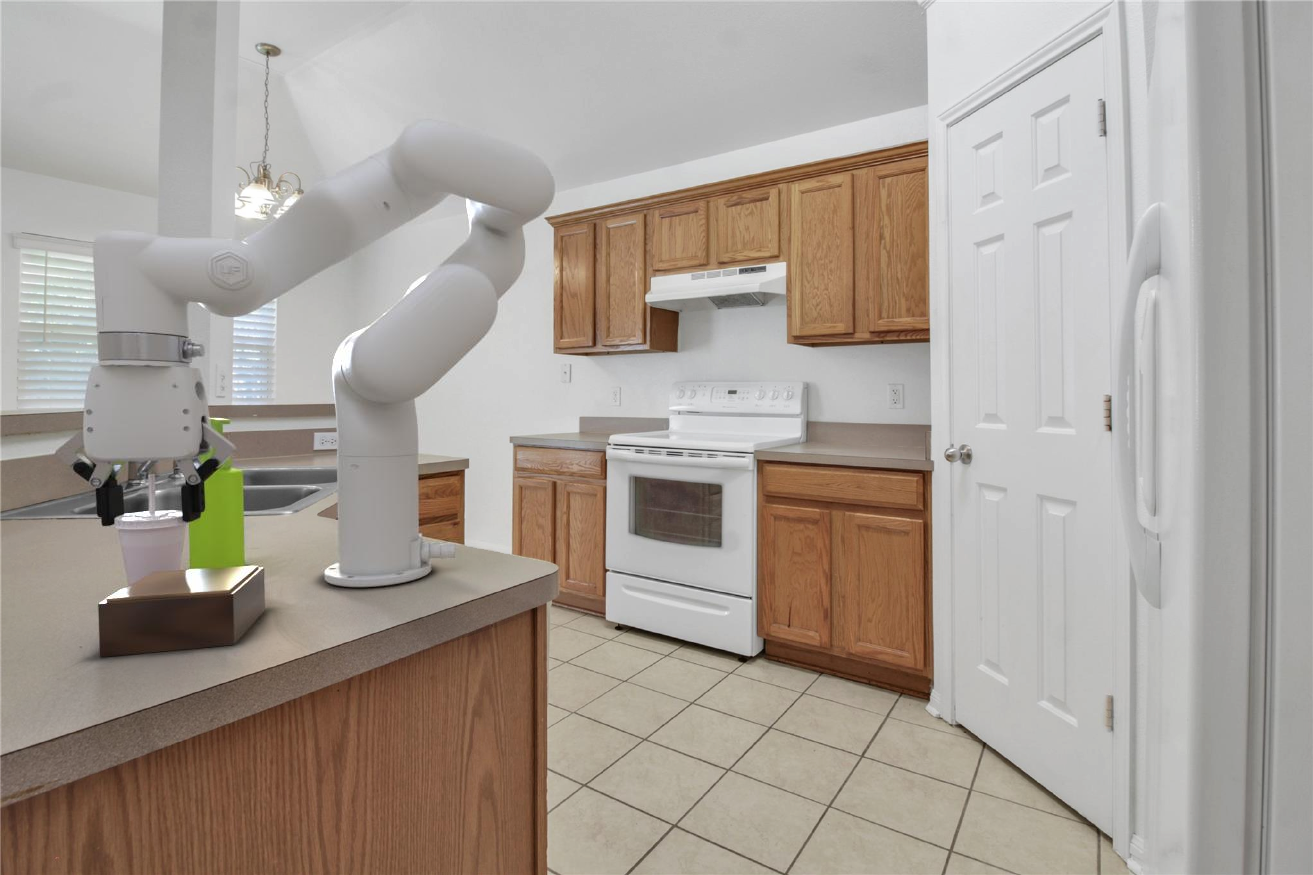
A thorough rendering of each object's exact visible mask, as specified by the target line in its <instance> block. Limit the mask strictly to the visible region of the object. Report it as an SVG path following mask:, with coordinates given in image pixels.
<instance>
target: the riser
mask: <svg viewBox="0 0 1313 875" xmlns="http://www.w3.org/2000/svg"><path fill="white" fill-rule="evenodd" d="M265 588H266V586H265V567H264V566H263V567H262V566H261V567H260V566H259V565H245V566H242V567H225V568H208V569H191V570H190V569H180V570H174V571H157V572H152V573H151V574H149V575H147V576H145V577H144V578H142V579H140V580H138V581H136V582H135V583H133V584H131V585H129V586H128V585H127V586H125V587H124V588H122V589H120V590H118V591H117V592H115V593H113V594H111V595H110V596H108V597H106V598H105V599H103V600H102V601H100V602H99V603H98V604H97V611H98V636H99V637H98V638H99V639H98V640H99V658H105V657H108V658H109V657H119V656H128V655H139V654H140V655H141V654H151V653H161V652H171V651H181V650H192V649H193V650H194V649H203V648H205V649H206V648H214V647H226V646H227V647H228V646H234V645H236V644H237V642H238V641H239V640H240V639H241V638H242V637H243V636H244V634H246V632H247V631H248V630H250V628H251V627H252V626H253V625H254V623H256V621H257V620H258V619H259V618H260V617H261V616H262V615H263V614H264V612H266V597H265V596H266V595H265V594H266V593H265V592H266V591H265V590H266V589H265Z"/></svg>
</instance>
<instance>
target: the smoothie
mask: <svg viewBox="0 0 1313 875" xmlns="http://www.w3.org/2000/svg"><path fill="white" fill-rule="evenodd" d="M147 478H148V479H147V480H148V481H147V482H148V485H147V486H148V510H147V511H138V512H131V513H124V515H120V516H117V517H116V518H115V519H114V523H115V524H114V525H113V528H114V529H116V530H117V531H118V536H119V543H120V547H121V553H122V558H123V564H124V570H125V575H126V581H127V586H129V585H131V584H133V583H135V582H136V581H138V580H140V579H142V578H144V577H145V576H147V575H149V574H151V573H152V572H157V571H174V570H181V565H182V560H183V559H182V558H183V552H184V545H185V538H186V529H187V524H189V522H185V521H183V520H182V510H172V509H171V510H170V509H169V510H168V509H167V510H156V474H155V473H148V475H147Z"/></svg>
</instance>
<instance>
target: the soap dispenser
mask: <svg viewBox="0 0 1313 875" xmlns="http://www.w3.org/2000/svg"><path fill="white" fill-rule="evenodd" d="M210 423H211V428H213V429H214V430H215V431H217V432H218V433H219V434H221V435H222V436H223V437H224V425H231V419H227V418H220V417H210ZM214 453H215V448H214V447H213V446H212V448H211V451H210V452H209V453H207V454H205V455H202V456H198V457H199V459H200V460H201V462H202V464H203V463H204V462H205V461H206V460H208V459H209V458H210V457H211V456H212V455H213V454H214ZM204 488H205V511H204V512H201V517H200V518H198V519H196V520H194V521H192V522H189V523H188V541H189V542H188V543H189V547H188V548H189V550H188V552H189V570H191V569H208V568H225V567H242V566H246V561H245V558H246V556H245V555H246V554H245V510H244V509H245V508H244V507H245V504H244V470H243V469H240V468H233V467H232V456H231V457H230V458H229V459H228V460H227V461H226V462H224V463H223V464H222V466H221V467H220V468H219V469H218V470H217V471H215V472H214V473H213V474H212V475H211V476H210V477H209V478H208V480H207V481H205V482H204Z"/></svg>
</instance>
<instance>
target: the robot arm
mask: <svg viewBox="0 0 1313 875" xmlns="http://www.w3.org/2000/svg"><path fill="white" fill-rule="evenodd" d="M555 193H556V184H555V179H554V176H553V173H552V171H551V170H550V168H549V167H548V165H547V163H545V162H544V160H543V159H542V158H541V157H539V156H538V155H537V154H536V153H534V152H532V151H530V150H528V149H526V148H524V147H522V146H519V145H516V144H513V143H510V142H507V141H504V140H502V139H499V138H496V137H493V136H490V135H487V134H484V133H482V132H479V131H475V130H473V129H470V128H467V127H464V126H461V125H457V124H454V123H452V122H451V123H450V122H446V121H442V120H437V119H429V118H427V119H419V120H414V121H412V122H410V123H409V124H408V125H406V127H404V129H402V131H401V132H400V133H399V136H398V137H397V138H396V139H395V141H394V142H393V143H392V144H390V145H389V146H386V147H384V148H383V149H381V150H379V151H377V152H375V153H373V154H371V155H370V156H367V157H366V158H364V159H361V160H360V161H358V162H356V163H354V164H352V165H350V166H348V167H346V168H344V169H343V170H341V171H338V172H336V173H334V174H332V175H330V176H328V177H327V178H324V179H323V180H320V181H318V182H316V183H315V184H313V185H312V186H310V187H309V188H308V189H307V190H305V191H304V192H303V193H302V194H301V195H300V196H298V198H297V199H296V200H295V201H294V202H293V203H292V204H291V205H290V206H289V207H288V208H287V209H286V210H285V211H284V212H283V213H282V214H280V216H278V217H276V218H275V219H274V220H273V221H271V222H270V223H269V224H267V225H265V226H264V227H262V228H261V229H259V230H257V231H256V232H254V233H252V234H250V235H249V236H247V237H246V238H244V239H241V240H238V239H233V238H228V237H227V238H226V237H173V236H168V237H167V236H163V235H160V234H156V233H151V232H145V231H138V230H128V229H127V230H126V229H111V230H105V231H102V232H100V233H98V234H97V235H95V237H94V240H93V243H92V258H93V259H92V264H93V281H94V283H93V284H94V300H95V317H96V318H95V320H96V333H97V334H96V341H97V358H98V365H91V367H90V370H89V374H88V377H87V378H88V379H87V383H86V389H85V395H84V404H83V417H82V418H83V422H82V423H83V426H82V429H81V430H80V431H78V432H77V433H76V434H74V435H73V436H72V437H71V438H70V439H68V440H67V441H66V442H64V443H63V444H62V445H61V446H60V447H59V448H57V449H56V450H55V453H54V454H55V455H54V456H55V457H57V458H58V459H59V460H60V461H61V462H63V463H64V464H65V465H67V466H68V467H69V468H71V469H72V470H73V472H74V473H75V474H76V475H78V476H80V477H81V478H82V479H84V480H85V481H86V482H88V485H89V486H90V488H93V489H95V502H96V505H95V506H96V516H97V517H98V518H100V521H101V526H102V527H111V526H114V525H115V523H114V519H115V518H116V517H117V516H120V515H125V502H124V500H125V499H124V487H123V485H122V484H121V483H119V484H118V478H119V476H120V475H121V472H122V470H123V467H124V466H125V464H126V462H152V461H156V462H157V461H175V463H176V465H177V467H178V469H179V470H180V471H181V474H182V475H183V477H184V479H185V481H184V482H185V484H183V485H181V486H180V492H181V493H180V496H181V497H180V498H181V511H182V520H183V521H185V522H192V521H194V520H196V519H198V518H200V517H201V512H204V511H205V488H204V482H205V481H207V480H208V478H209V477H210V476H211V475H212V474H213V473H214V472H215V471H217V470H218V469H219V468H220V467H221V466H222V464H223V463H224V462H226V461H227V460H228V459H229V458H230V457H231V458H232V456H233V455H234V454H235V453H236V452H237V450H238V449H237V446H236V445H235V444H234V443H233V442H231V441H230V440H229V439H227V438H226V437H225V436H224V435H223V436H222V435H221V434H219V433H218V432H217V431H215V430H214V429H213V428H211V423H210V418H211V416H210V408H209V403H208V398H207V393H206V388H205V384H204V379H203V375H202V373H201V369H200V368H199V367H191V363H193V359H195V358H197V357H204V356H205V352H206V350H205V349H206V348H205V346H204V344H202V343H198V344H197V343H195V342H192V339H191V338H190V337H189V336H190V335H189V314H188V313H189V311H188V310H189V309H188V304H190V302H191V303H196V304H199V305H200V306H201V307H202V308H203V309H205V310H206V311H208V312H209V313H212V314H214V315H217V316H221V317H226V318H239V317H243V316H246V315H249V314H251V313H253V312H255V311H257V310H259V309H260V308H262V307H264V306H265V305H268V303H269V304H270V302H272V301H273V300H276V299H277V298H279V297H280V296H282V295H285V294H286V293H287V292H289V291H291V290H293V289H294V288H296V287H299V285H301V284H303V283H305V282H306V281H307V280H310V279H311V278H313V277H314V276H316V275H318V274H319V273H321V272H323V271H325V270H327V269H328V268H330V267H332V266H335V265H337V264H339V263H341V262H344V261H345V260H347V259H349V258H350V257H352V256H353V255H355V254H356V253H358V252H359V251H361V250H363V249H365V248H366V247H369V246H370V245H372V244H373V243H375V242H377V241H379V240H380V239H382V238H383V237H385V236H386V235H388V234H390V233H391V232H393V231H395V230H398V229H399V228H401V227H402V226H403V225H406V224H407V223H409V222H411V221H412V220H415V219H416V218H418V217H420V216H421V215H423V214H425V213H427V212H428V211H430V210H432V209H433V208H435V207H436V206H438V205H439V204H441V203H442V202H443V201H444V200H446V199H447V198H448V197H449V196H450V195H453V196H454V195H455V196H457V197H460V198H462V199H466V211H467V217H468V222H469V234H468V236H467V238H466V240H465V241H464V242H462V243H461V245H459V246H458V247H457V248H456V249H455V250H454V251H453V252H452V253H451V254H450V255H449V256H448V257H447V258H446V259H444V260H443V261H442V262H440V263H439V264H438V265H437V266H436V267H435V268H433V269H432V270H431V271H429V272H427V273H425V274H424V275H422V276H421V277H419V278H418V279H416V280H415V281H414V282H413V283H412V284H411V285H410V287H409V288H408V290H406V292H405V294H404V296H403V297H402V298H400V299H399V300H398V301H397V302H396V303H395V304H394V305H393V306H391V307H390V308H389V309H388V310H387V311H386V312H384V313H383V314H382V315H381V316H379V317H378V318H377V319H376V320H374V321H373V322H372V323H371V324H369V325H368V326H367V327H363V328H361V329H359V330H356V331H354V332H353V333H351V334H349V335H348V336H347V337H346V338H344V340H343V341H342V342H341V343H340V344H339V346H338V348H337V350H336V352H335V355H334V358H333V361H332V362H333V363H332V387H333V398H334V406H335V420H336V422H335V424H336V483H337V484H336V488H337V490H336V492H337V546H338V547H337V560H338V561H337V562H336V563H333V564H331V565H329V566H328V567H327V568H326V569H325V570H324V580H325V581H326V582H327V583H328V584H331V585H334V586H338V587H346V588H347V587H348V588H372V587H373V588H375V587H384V586H392V585H398V584H402V583H407V582H411V581H415V580H418V579H420V578H423V577H426V576H427V575H428V574H429V573H431V571H432V561H431V560H430V559H442V560H443V559H454V558H456V543H455V542H449V543H448V542H447V543H446V541H438V542H428V541H427V540H426V541H423V533H420V528H419V527H420V525H419V524H420V522H419V521H420V520H419V516H420V515H419V514H420V512H419V510H420V509H419V507H420V506H419V426H418V415H417V408H416V407H417V406H416V402H415V400H416V399H417V398H419V397H420V396H422V395H423V394H425V393H427V391H429V390H430V389H431V388H432V387H433V386H434V385H436V384H437V383H438V382H439V381H440V380H441V379H442V378H443V377H444V376H445V375H447V374H448V373H449V371H451V370H452V369H453V368H454V367H455V366H456V365H457V364H458V363H459V362H460V361H461V360H462V359H464V357H465V356H467V354H469V353H470V352H471V351H472V350H473V349H474V348H475V347H476V346H477V345H478V344H479V343H480V342H481V341H482V340H483V339H484V338H485V337H486V335H487V334H488V333H489V332H490V331H491V329H492V327H493V325H494V324H495V321H496V318H497V315H498V309H499V301H500V299H501V298H502V297H503V296H505V294H506V293H507V292H508V291H509V290H510V289H511V288H512V287H513V286H514V284H516V282H517V280H518V279H519V278H520V276H521V274H522V272H523V269H524V266H525V262H526V240H525V235H524V234H525V233H524V227H523V226H525V225H526V224H528V223H530V222H532V221H534V220H536V219H537V218H540V216H543V214H544V213H545V212H547V211H548V209H549V208H550V206H551V205H552V203H553V201H554V198H555ZM212 446H213V447H214V448H215V453H214V454H213V455H212V456H211V457H210V458H209V459H208V460H206V461H205V462H204V463H203V464H202V462H201V460H200V459H199V456H202V455H205V454H207V453H209V452H210V451H211V448H212ZM83 451H84V452H85V455H84V453H83ZM86 456H87V457H88V458H89V459H88V458H87V457H86ZM90 459H91V460H90ZM92 460H94V461H97V464H96V463H95V462H93V461H92Z"/></svg>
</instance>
